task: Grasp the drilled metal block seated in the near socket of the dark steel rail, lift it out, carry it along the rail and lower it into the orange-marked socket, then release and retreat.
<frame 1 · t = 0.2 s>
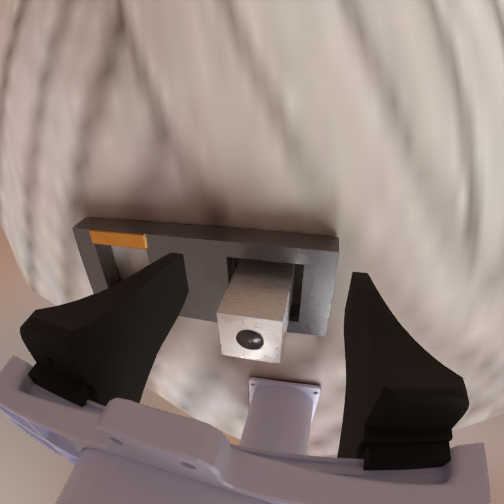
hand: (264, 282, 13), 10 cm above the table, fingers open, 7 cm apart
drilled metal block: (269, 275, 25), resting in rail
rail: (197, 267, 27), on the table
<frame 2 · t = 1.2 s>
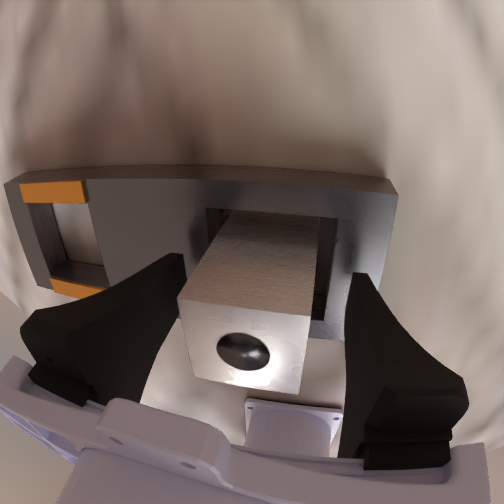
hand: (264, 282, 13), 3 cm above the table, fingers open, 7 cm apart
drilled metal block: (276, 245, 16), resting in rail
rail: (165, 236, 17), on the table
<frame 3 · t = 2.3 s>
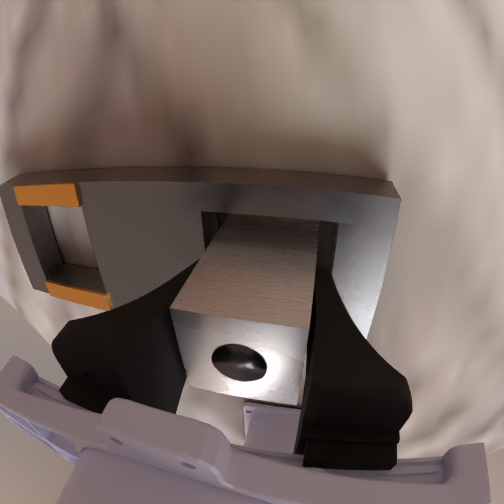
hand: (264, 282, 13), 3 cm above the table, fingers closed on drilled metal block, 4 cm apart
drilled metal block: (274, 250, 16), resting in rail, touching gripper
rail: (161, 239, 17), on the table
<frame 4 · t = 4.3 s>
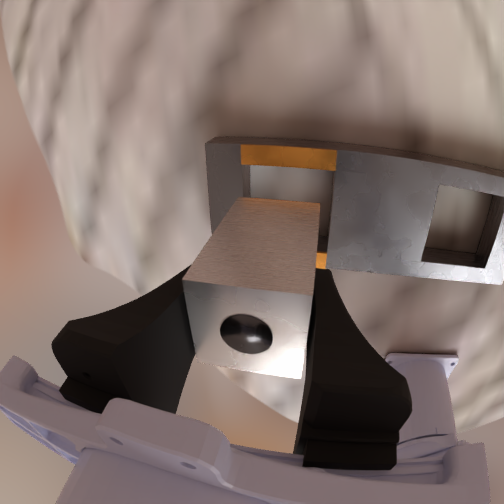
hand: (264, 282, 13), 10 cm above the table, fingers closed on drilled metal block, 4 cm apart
drilled metal block: (277, 236, 16), point 6 cm above the table, touching gripper
rail: (378, 206, 20), on the table
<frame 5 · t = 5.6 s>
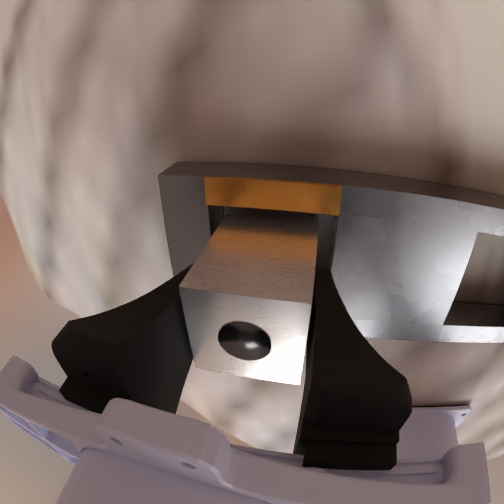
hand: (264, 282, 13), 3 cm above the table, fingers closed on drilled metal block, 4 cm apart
drilled metal block: (276, 238, 16), resting in rail, touching gripper
rail: (393, 254, 15), on the table
when the fingers open (3 cm above the table, at t = 6.2 s): drilled metal block stays where it is, resting in rail.
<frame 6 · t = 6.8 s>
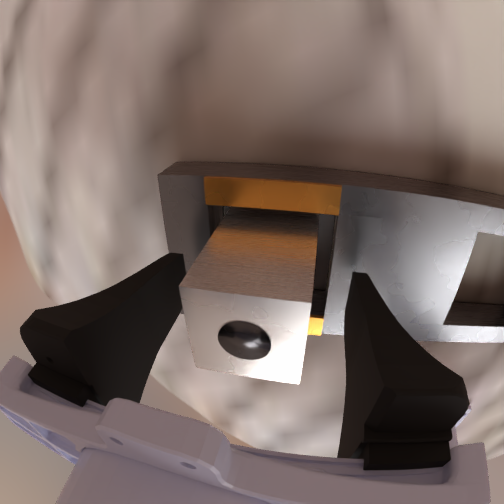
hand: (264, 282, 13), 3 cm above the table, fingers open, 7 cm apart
drilled metal block: (276, 238, 16), resting in rail
rail: (393, 253, 15), on the table
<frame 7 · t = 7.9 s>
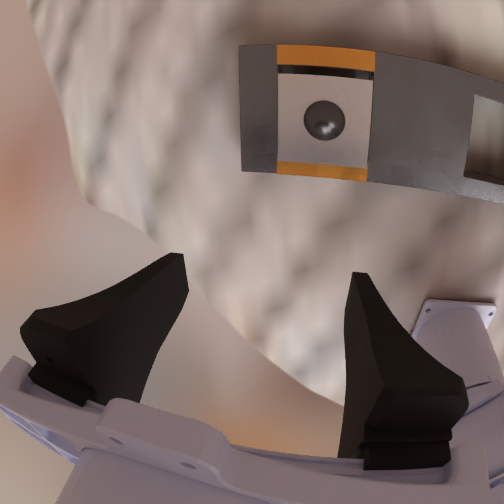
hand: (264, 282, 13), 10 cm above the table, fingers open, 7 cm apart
drilled metal block: (324, 106, 18), resting in rail
rail: (415, 120, 17), on the table
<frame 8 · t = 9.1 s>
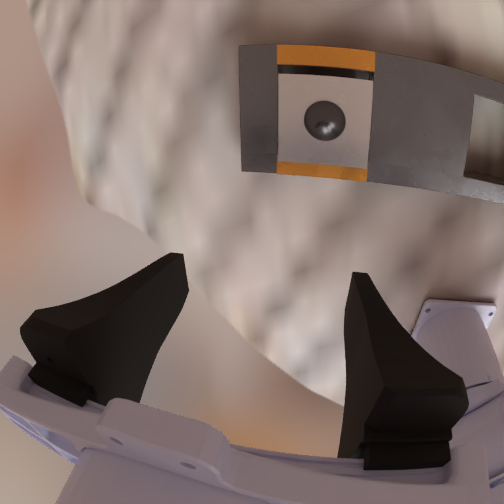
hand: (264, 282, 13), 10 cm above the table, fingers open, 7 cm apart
drilled metal block: (324, 106, 18), resting in rail
rail: (415, 120, 17), on the table
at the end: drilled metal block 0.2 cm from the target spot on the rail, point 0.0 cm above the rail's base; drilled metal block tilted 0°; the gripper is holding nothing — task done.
